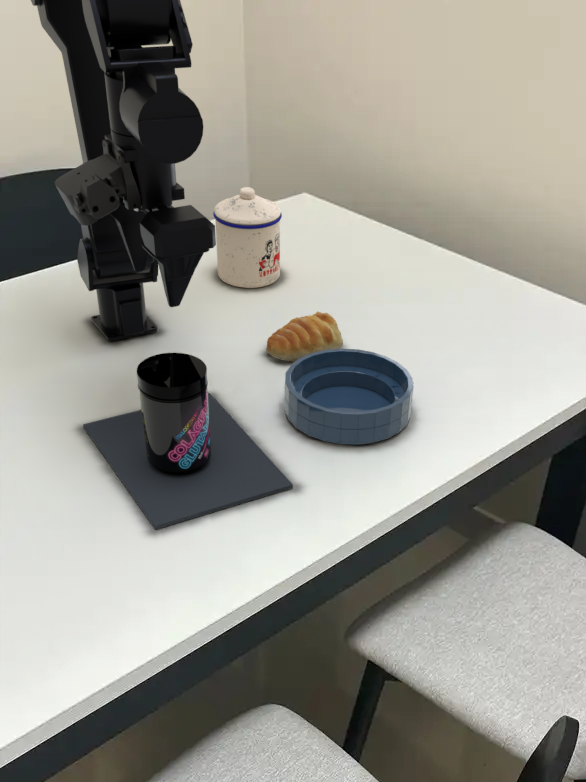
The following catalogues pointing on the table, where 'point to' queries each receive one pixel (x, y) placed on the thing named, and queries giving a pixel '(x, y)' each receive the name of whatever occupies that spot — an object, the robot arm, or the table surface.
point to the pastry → (305, 337)
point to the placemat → (193, 491)
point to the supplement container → (175, 412)
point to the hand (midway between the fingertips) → (156, 288)
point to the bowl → (348, 396)
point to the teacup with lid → (248, 240)
